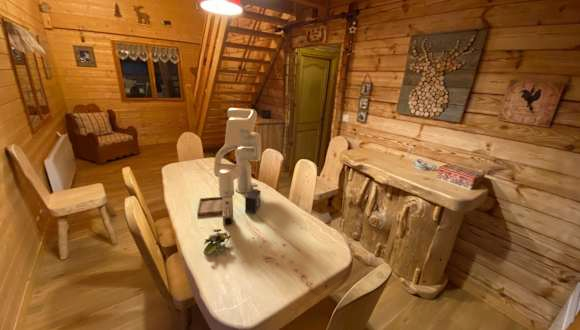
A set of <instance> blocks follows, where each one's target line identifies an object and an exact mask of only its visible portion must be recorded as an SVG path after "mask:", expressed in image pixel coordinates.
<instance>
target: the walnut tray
mask: <svg viewBox="0 0 580 330" xmlns="http://www.w3.org/2000/svg"><path fill="white" fill-rule="evenodd" d="M196 214H197V215H196V216H197V217H209V216H219V215H220V216H221V215H223V203H222V197H221V196H213V197H200V198H199V202H198V208H197V213H196Z"/></svg>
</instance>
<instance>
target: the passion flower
mask: <svg viewBox="0 0 580 330" xmlns="http://www.w3.org/2000/svg"><path fill="white" fill-rule="evenodd" d="M212 231H213V232H214V234H210V235H209V236H208V238H206V239H204V242H203V245H206V244H207V245H206V246H205V248H204V249H203V254H207V255H208V254H210V253H212V252H214V250H215V252H216V253H217V254H219V255H221V254H222V251H223V249H224V248H225V245H226V243H227V242H228V241H229V240H230V239H231V237H232V236H231V235H228V233H227V231H225V232H221V231H223V230H222V229H221V228H220V229H219V228H218V229H217V228H216V229H213V230H212ZM215 232H216V233H215ZM219 232H220V233H219ZM222 243H224V244H223V245H221V244H222Z"/></svg>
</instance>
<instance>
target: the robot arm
mask: <svg viewBox="0 0 580 330" xmlns="http://www.w3.org/2000/svg"><path fill="white" fill-rule="evenodd" d="M226 115H227V118H228V119H227V121H226V127H225V128H226V129H225V136H224V137H225V138H224V145H223V146H222V147H221V148H220V149H219V150H218V151H217V152H216V154H215V157H214V162H213V164H214V165H213V174H214V176H215V177H217V178H218V189H219V190H218V191H219V193H218V194H219V197H222V203H223V211H224V214H225V225H224V226H229V225H232V224H231V215H230V216H229V214H233V215H234V202H233V200H234V199H233V198H234V197H233V196H234V195H235V191H236V192H237V193H240V194H248V193H249V192H250V191H251V190H254V188H258V187H259V185H258V184H259V183H258V184H257V183H256V182H253V183H252V166H251V163H250V162H259V161H260V160H261V158H262V138H261V134H260V133H259V132H257V131H253V130H254V127H255V126H256V122H257V119H258V113H257V111H256V110H255V109H252V108H242V107H231V108H228V109H227V114H226ZM232 151H234V155H235V159H236V164H234V163H233V164H231V163H222V160H223V158H224V156H225V155H226V154H228V153H229V152H232ZM236 179H237V181H236V182H237V186H235V181H234V180H236ZM226 212H227V213H226ZM229 212H230V213H229ZM226 214H227V216H226Z"/></svg>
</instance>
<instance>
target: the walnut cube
mask: <svg viewBox="0 0 580 330" xmlns="http://www.w3.org/2000/svg"><path fill="white" fill-rule="evenodd" d="M226 213H227V212H226ZM229 213H230V212H229ZM230 215H231V224H230V225H234V213H233V214H229V216H230ZM226 216H227V214H226ZM222 225H223V226H226V225H225V214H224V211H223V214H222Z"/></svg>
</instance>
